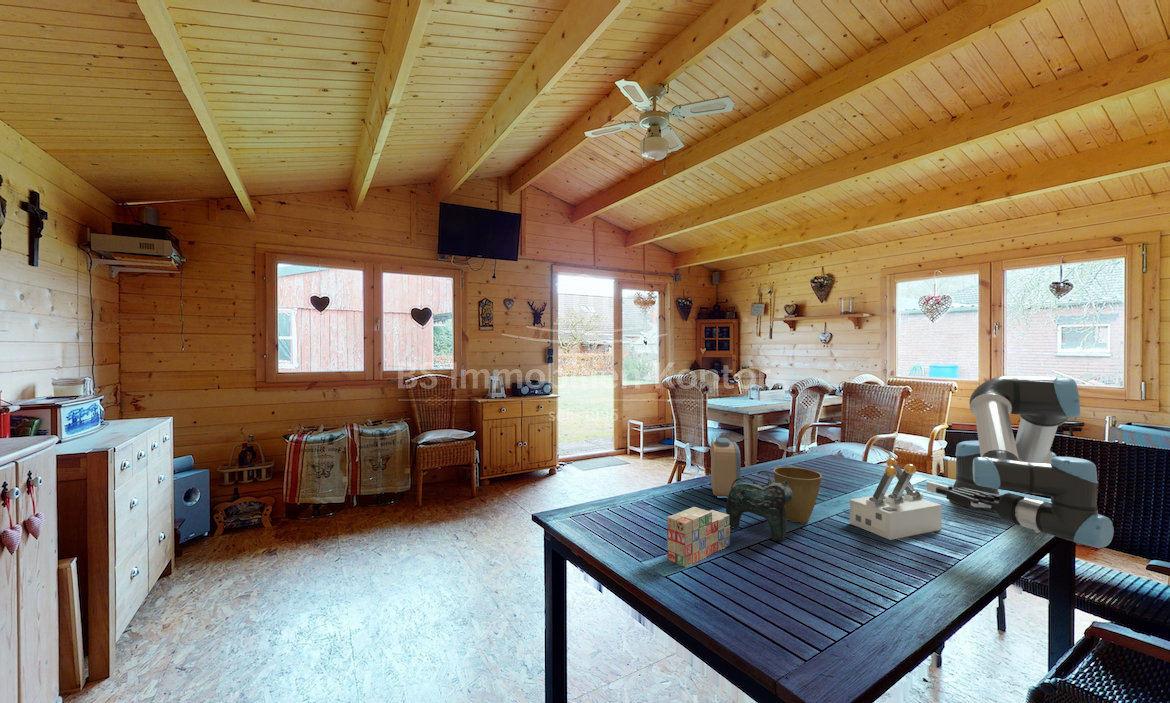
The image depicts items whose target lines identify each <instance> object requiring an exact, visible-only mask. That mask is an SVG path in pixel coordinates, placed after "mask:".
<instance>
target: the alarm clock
mask: <svg viewBox="0 0 1170 703" xmlns="http://www.w3.org/2000/svg"><path fill="white" fill-rule="evenodd" d="M741 460H742V459H741V450H740V447H739V445H738V443H737V442H736V441H731V440H730V439H729V438H727V437H717V438H716V440H712V441H711V442H710V482H711V490H712V493H713V494H712V495H714V496H715V497H716V496H727V497H728V495H729V492H730V490H731V486H732V484H733V482H734V481H735V480H736V479H739V478H742V476H741V474H742V472H741V471H742V470H741V462H742V461H741ZM741 480H742V479H741ZM741 480H738V481H736V482H735V483H734V484H733V486H732V487H734V486H736V485H737V484H739V483H742V481H741Z"/></svg>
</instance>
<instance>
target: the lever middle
mask: <svg viewBox="0 0 1170 703" xmlns="http://www.w3.org/2000/svg"><path fill="white" fill-rule="evenodd" d="M902 471H903V473H902V475H901V477H900V479H899V480H898V481H897V483H896V485H895V486H894V488H893V490H892V492H891V493H892V494H890V495H888V497H890V498H893V499H894V501H899V500H902V494H903V493H904V491H905V488H906V486H907V484H908V483H909V481H911V479H912V477H913V475H914V474H916V472H917V467H916V466H915V464H911V463H907V464H905V465H904V467H903V470H902Z"/></svg>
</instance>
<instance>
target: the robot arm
mask: <svg viewBox="0 0 1170 703" xmlns="http://www.w3.org/2000/svg"><path fill="white" fill-rule="evenodd" d="M969 410H970V412H971V413H972V415H973V416H974V417H975V422H976V423H975V425H976V432H977V438H978V440H965V441H964V440H963V441H961V442H958V443H956V448H955V456H956V457H955V481H954V483H953V486H951V485H946V484H942V483H938V482H934V481H926V492H929V493H933V494H937V495H940V496H945V498H946V499H947V500H949V501H951V503H954V504H956V505H958V506H961V507H965V508H969V509H972V510H974V511H979V510H980V511H986V512H989V513H995V512H996V513H997V514H998V517H999V518H1000V520H1002V521H1003V522H1006V523H1009V524H1013V525H1017V526H1021V527H1024V528H1027V529H1031V530H1034V532H1035V533H1037V534H1039V533H1043V534H1048V535H1051V536H1055V537H1057V538H1061V539H1064V540H1066V541H1070V542H1073V543H1074V544H1075V543H1076V544H1080V545H1085V546H1088V547H1092V548H1096V549H1097V548H1098V549H1103V548H1106V547H1107V546H1109V545H1110V544H1111V542H1112V540H1113V537H1114V533H1115V530H1114V528H1115V527H1114V526H1113V521H1112V520H1111V518H1109V517H1107V516H1104V515H1102V514H1101V513H1099V512H1098V511H1099V509H1098V507H1097V506H1098V505H1097V502H1098V500H1097V499H1098V484H1099V481H1098V472H1097V466H1096V464H1095V463H1094V462H1093V461H1090V460H1088V459H1084V458H1079V457H1072V456H1057V454H1056V453H1055V452H1053V451H1052V450H1051V447H1052V445H1053V442H1054V439H1055V436H1056V434H1057V430H1058V427H1059V426H1062V425H1063V424H1064V423H1066V422H1067V421H1068V419H1070V420H1072V419H1078V418H1079V417H1081V402H1080V394H1079V389H1078V385H1077V383H1076V381H1075V380H1074V379H1072V378H1071V377H1070V378H1069V377H1059V376H1017V375H1016V376H1014V375H1013V376H1012V375H1004V376H996V377H994V378H990V379H988V380H986V381H984V382H982V383H981V384H979V386H977V387H976V388H975V389H974V390H973V391H972V393H971V395H970V398H969ZM1010 415H1018V416H1019V417H1020V419H1019V420H1020V421H1019V425H1018V429H1017V433H1016V437H1014V436H1015V435H1014V432H1013V428H1012V422H1011V418H1010ZM999 490H1001V491H1011V492H1016V493H1017V492H1018V493H1027V494H1034V495H1040V496H1047V497H1050V502H1048V501H1044V500H1041V499H1035V498H1034V497H1033V498H1032V497H1025V496H1023V495H1019V494H1015V493H1010V492H1007V493H1004V494H1000V492H999Z"/></svg>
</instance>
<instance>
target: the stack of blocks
mask: <svg viewBox="0 0 1170 703" xmlns="http://www.w3.org/2000/svg"><path fill="white" fill-rule="evenodd" d="M666 525H667V528H666V538H667V541H666V542H667V551H666V552H667V560H666V561H668V560H669V562H671V561H672V562H671V563H673V562H674V563H673V564H675V563H676V565H678V564H679V565H678V566H680V567H682V566H683V567H682V568H684V567H685V569H687V568H688V567H690V566H692V564H693V565H695V564H696V562H697V563H699V562H701V561H703V560H705V559H707V558H708V557H710V556H709V555H711V554H712V553H714V552H716V553H718V552H720V551H719V550H721V551H722V549H723V550H724V549H726V548H725V547H727V546H729V545H730V546H731V528H730V515H728V514H726V513H724V512H721V511H717V510H714V509H710V510H706V509H703V508H699V507H696V506H692V507H690V508H687V509H684V510H682V511H679V512H677V513H675V514H672V515H669V516H667V524H666ZM730 546H729V547H730ZM727 548H728V547H727ZM717 551H718V552H717ZM714 554H715V553H714ZM712 555H713V554H712ZM712 555H711V556H712ZM707 556H708V557H707ZM706 557H707V558H706ZM704 558H705V559H704ZM702 559H703V560H702ZM700 560H701V561H700ZM698 561H699V562H698ZM694 563H695V564H694Z"/></svg>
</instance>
